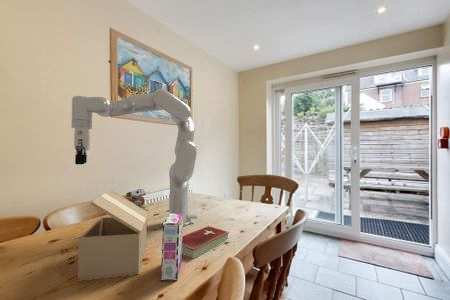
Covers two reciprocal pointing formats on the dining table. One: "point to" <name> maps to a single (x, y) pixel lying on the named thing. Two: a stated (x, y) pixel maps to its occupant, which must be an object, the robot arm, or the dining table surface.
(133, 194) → the figurine
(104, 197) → the carton lid
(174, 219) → the candy bar box
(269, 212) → the dining table surface
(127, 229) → the carton
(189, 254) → the hardcover book
